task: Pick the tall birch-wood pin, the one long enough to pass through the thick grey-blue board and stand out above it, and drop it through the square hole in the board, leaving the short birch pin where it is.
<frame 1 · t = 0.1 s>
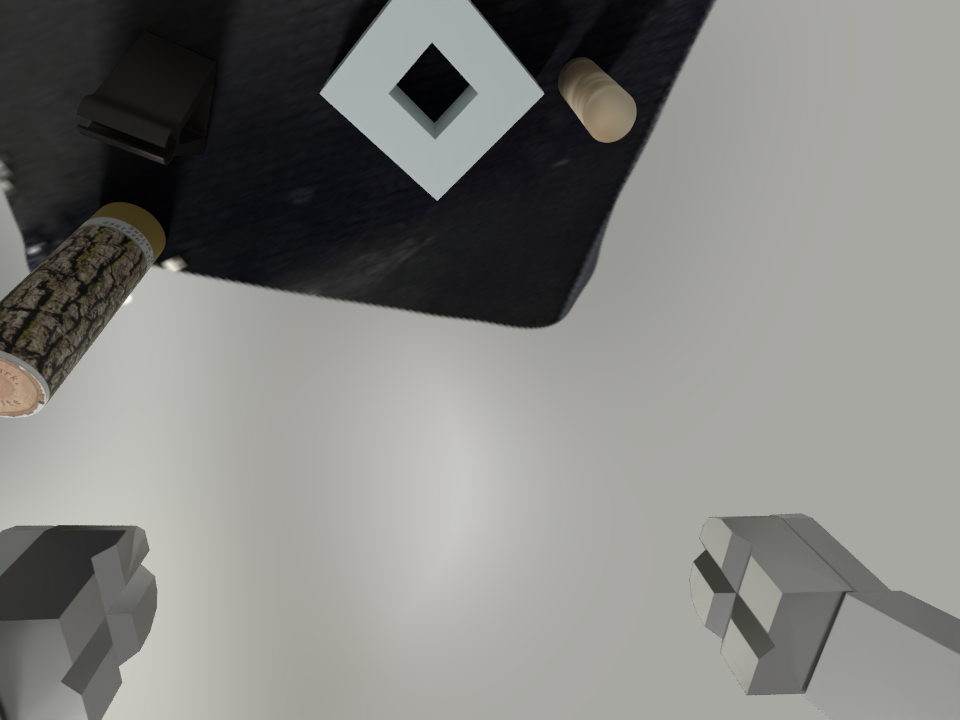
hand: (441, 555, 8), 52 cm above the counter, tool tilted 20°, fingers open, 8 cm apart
bark-patterned tube: (134, 228, 58), on the counter
hole board: (433, 79, 51), on the counter
tall pin: (578, 80, 52), on the counter
phone stand: (177, 94, 50), on the counter
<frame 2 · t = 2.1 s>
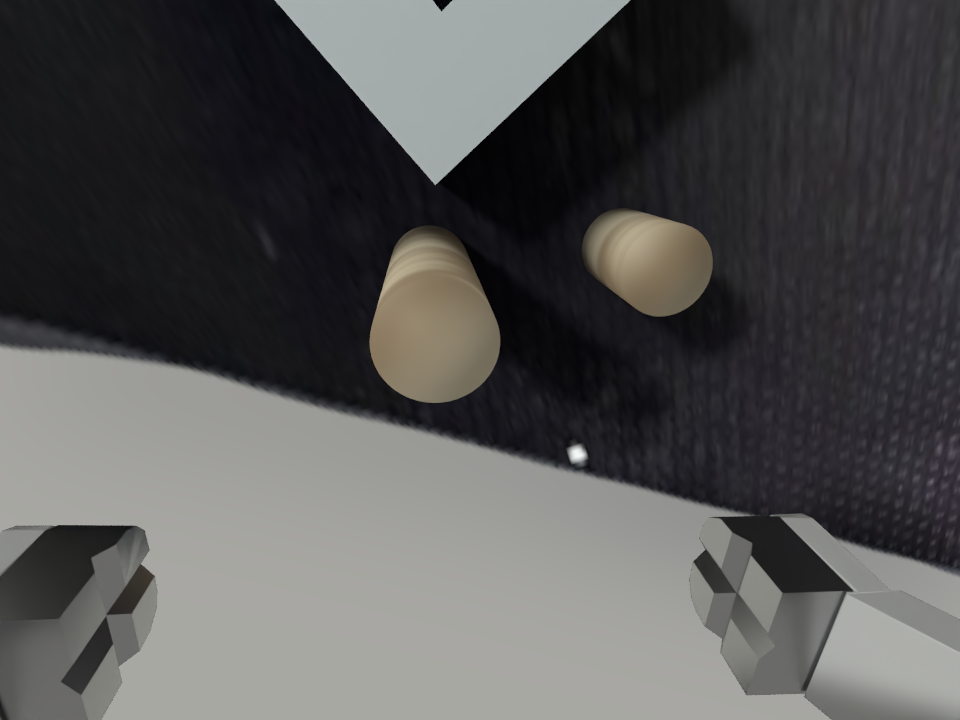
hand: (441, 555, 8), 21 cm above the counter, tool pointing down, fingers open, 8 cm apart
short pin: (618, 247, 28), on the counter
tall pin: (430, 265, 27), on the counter
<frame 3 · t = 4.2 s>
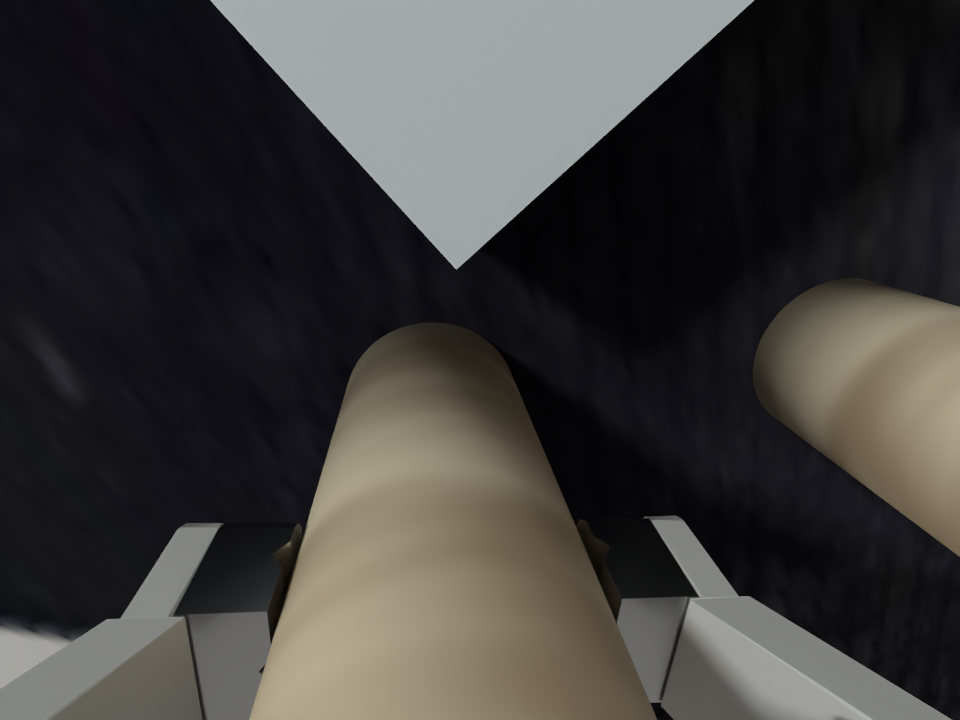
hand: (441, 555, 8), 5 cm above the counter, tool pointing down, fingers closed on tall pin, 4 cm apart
short pin: (828, 356, 13), on the counter
tall pin: (432, 402, 13), on the counter, touching gripper
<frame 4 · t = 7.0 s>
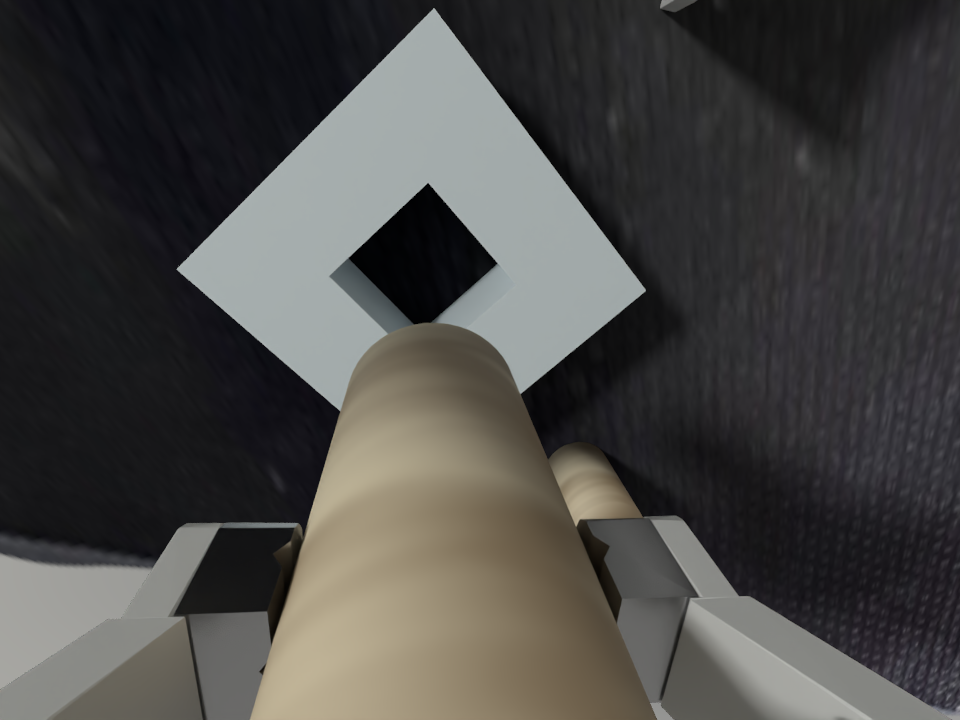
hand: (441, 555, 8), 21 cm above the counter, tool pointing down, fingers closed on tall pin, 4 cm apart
short pin: (576, 470, 33), on the counter
hole board: (423, 258, 27), on the counter
tall pin: (432, 403, 13), point 16 cm above the counter, touching gripper
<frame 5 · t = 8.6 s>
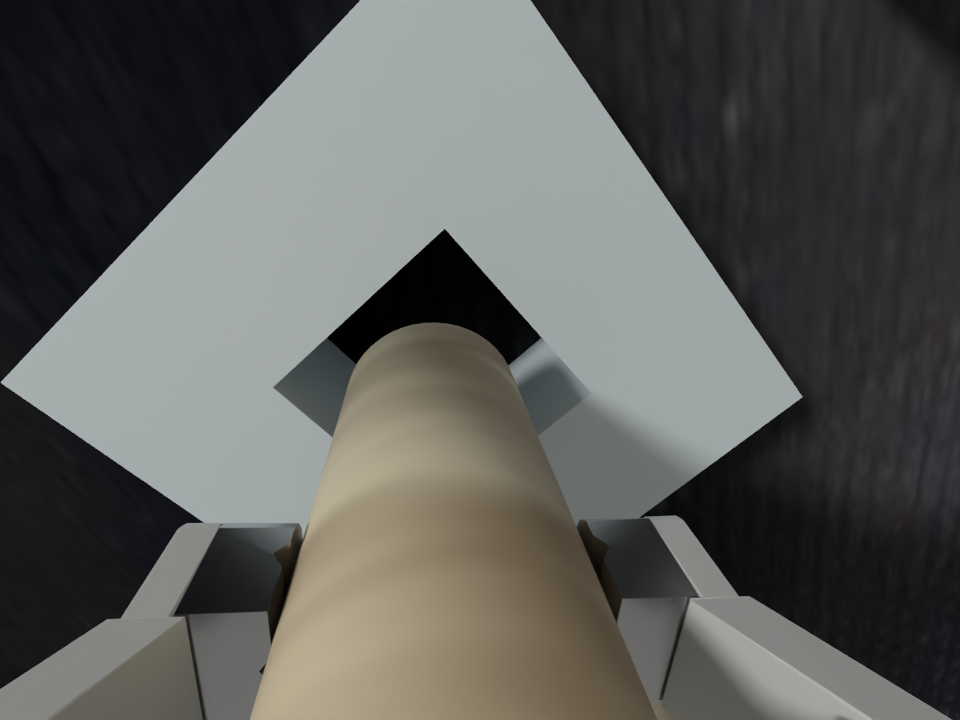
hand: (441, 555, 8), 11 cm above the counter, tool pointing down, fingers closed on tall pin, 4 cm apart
hole board: (433, 328, 18), on the counter
tall pin: (432, 403, 13), point 6 cm above the counter, touching gripper
when the fingers open (8 cm above the counter, at t = 9.9 s): tall pin drops 2 cm, resting in hole board.
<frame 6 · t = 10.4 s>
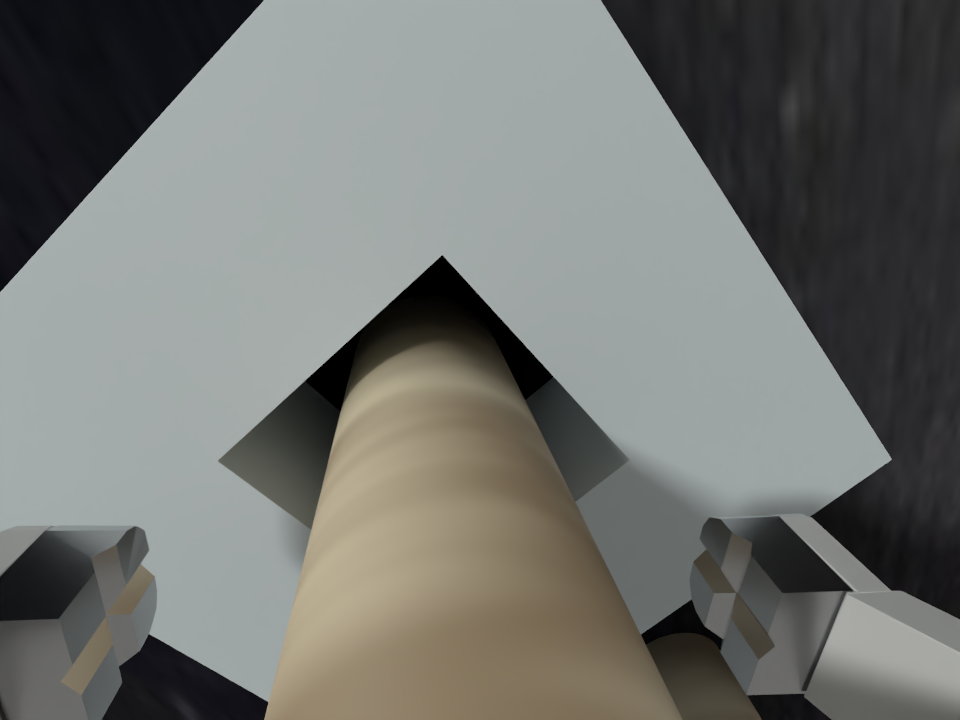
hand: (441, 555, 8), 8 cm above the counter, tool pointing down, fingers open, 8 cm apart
short pin: (672, 670, 21), on the counter
hole board: (428, 363, 15), on the counter
tall pin: (427, 364, 15), resting in hole board
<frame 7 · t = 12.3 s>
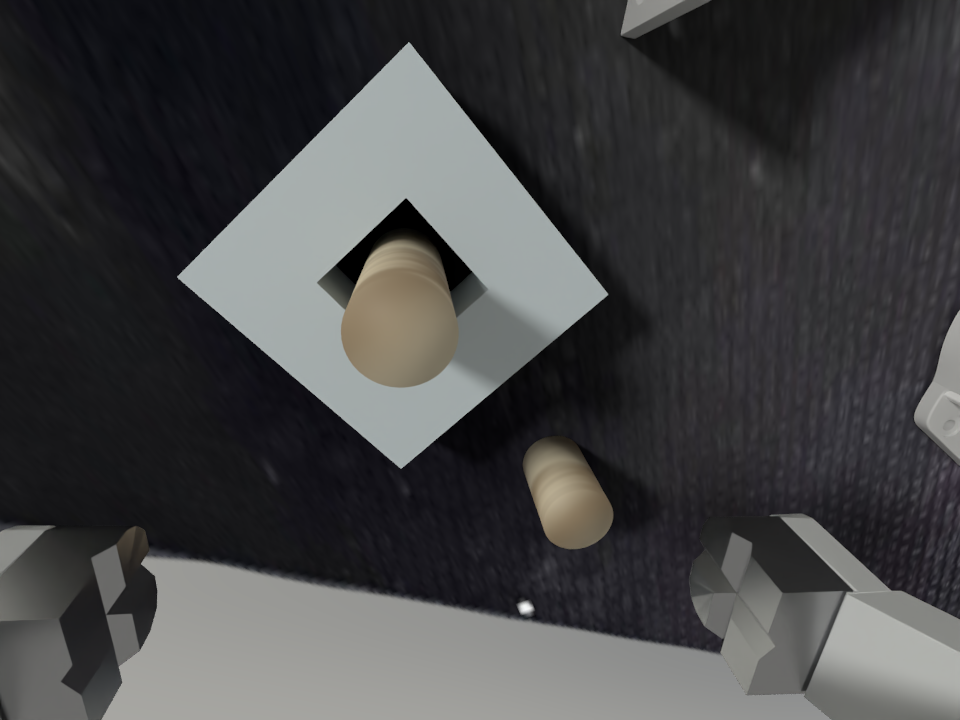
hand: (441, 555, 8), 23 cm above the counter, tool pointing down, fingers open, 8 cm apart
short pin: (552, 462, 35), on the counter
hole board: (405, 264, 29), on the counter
tall pin: (405, 264, 29), resting in hole board
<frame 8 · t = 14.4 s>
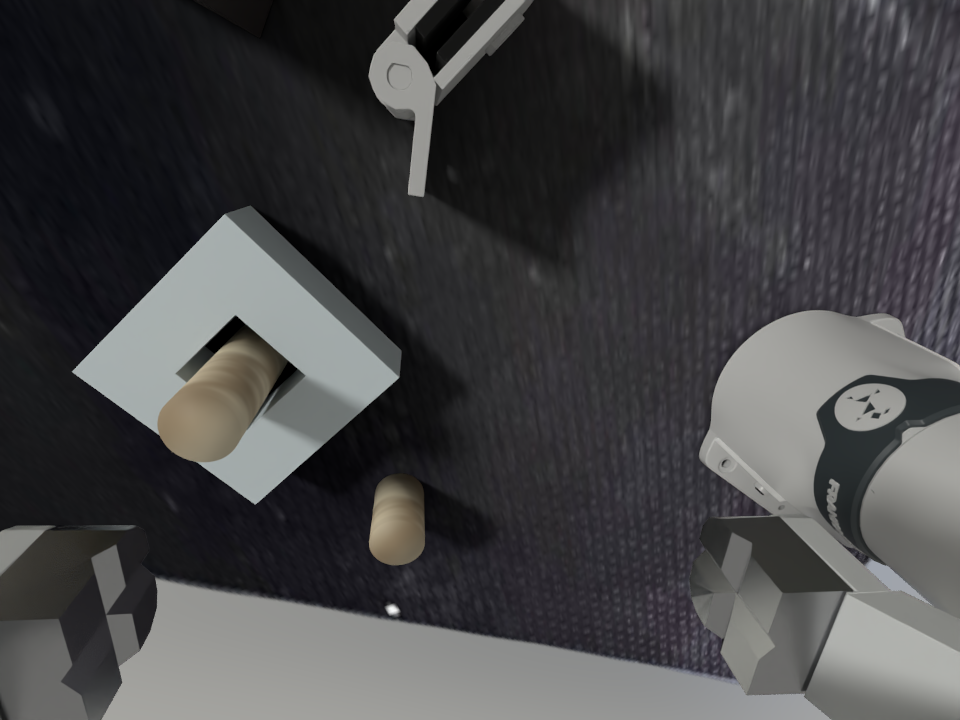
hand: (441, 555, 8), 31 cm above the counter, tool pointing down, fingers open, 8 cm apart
short pin: (399, 493, 44), on the counter
hole board: (262, 347, 38), on the counter
tall pin: (262, 347, 38), resting in hole board
hinge: (450, 77, 33), on the counter
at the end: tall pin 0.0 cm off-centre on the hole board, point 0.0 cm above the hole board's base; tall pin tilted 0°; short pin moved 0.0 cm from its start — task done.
